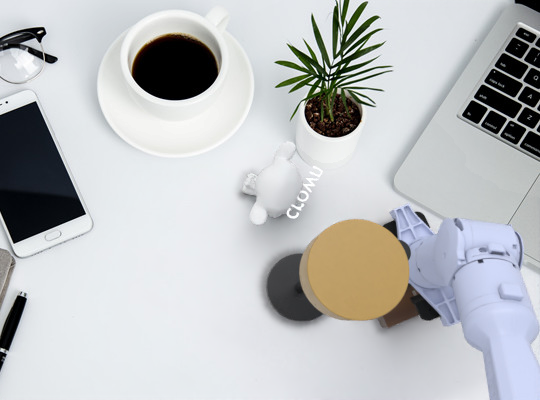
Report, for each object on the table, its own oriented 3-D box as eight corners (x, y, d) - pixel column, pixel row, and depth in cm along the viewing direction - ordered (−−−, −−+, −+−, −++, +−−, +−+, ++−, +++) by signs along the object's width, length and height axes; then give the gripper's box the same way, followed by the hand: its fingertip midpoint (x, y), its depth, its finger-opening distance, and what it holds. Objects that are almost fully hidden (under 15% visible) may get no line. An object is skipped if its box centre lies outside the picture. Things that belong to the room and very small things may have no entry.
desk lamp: (343, 305, 83) (510, 292, 36) (271, 335, 82) (343, 361, 35) (316, 244, 84) (440, 153, 37) (245, 273, 84) (280, 218, 37)
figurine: (233, 225, 87) (298, 249, 83) (214, 208, 80) (285, 233, 75) (265, 150, 89) (331, 170, 85) (250, 126, 82) (321, 146, 77)
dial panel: (450, 299, 82) (459, 298, 79) (382, 327, 82) (388, 328, 79) (410, 217, 84) (418, 213, 81) (344, 244, 84) (348, 242, 81)
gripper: (379, 212, 67) (353, 229, 81) (438, 338, 65) (401, 334, 78) (438, 188, 68) (402, 209, 81) (499, 312, 65) (451, 313, 78)
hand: (404, 269), depth 80 cm, fingers open, 7 cm apart
